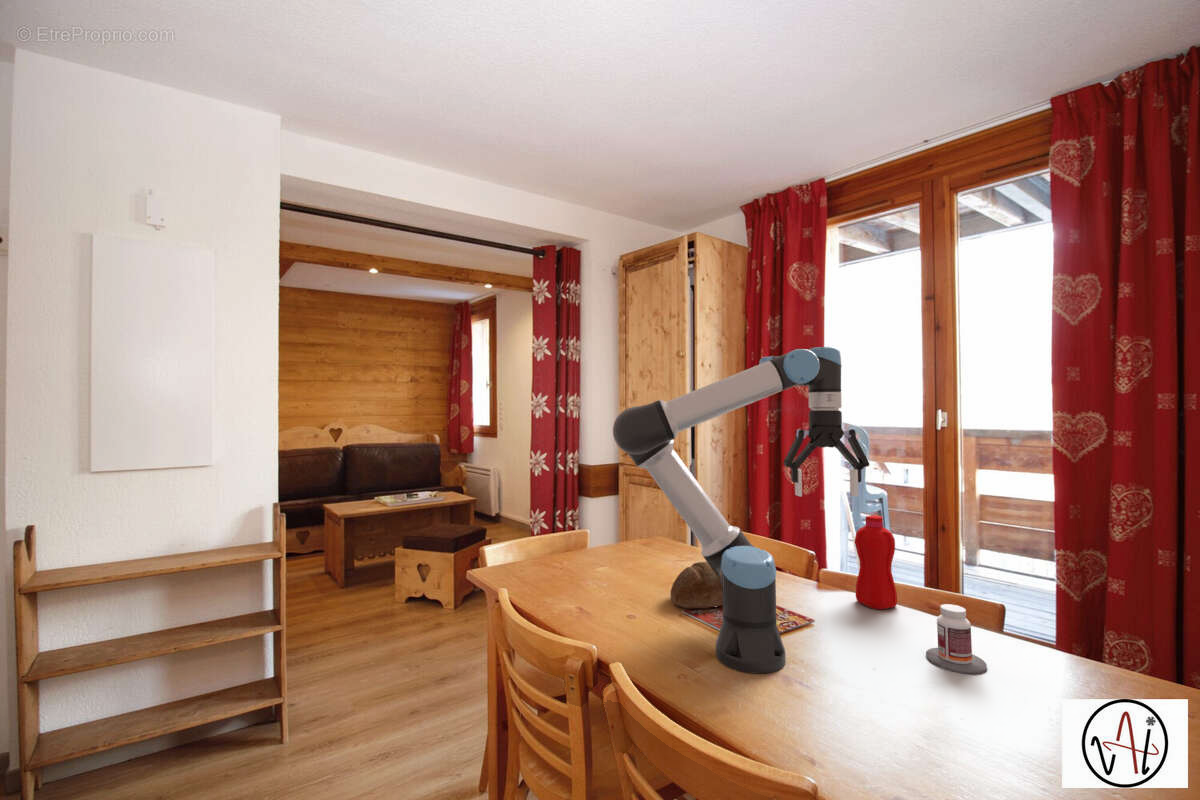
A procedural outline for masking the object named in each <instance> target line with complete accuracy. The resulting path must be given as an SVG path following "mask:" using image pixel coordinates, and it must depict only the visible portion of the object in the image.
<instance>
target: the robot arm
mask: <svg viewBox="0 0 1200 800" xmlns="http://www.w3.org/2000/svg"><path fill="white" fill-rule="evenodd" d="M793 387H808V408H809V409H810V411H808V430H807V429H806V430H805V429H801V428H796V431H795V438H794V440H793V442H792V443H791V445H790V448H789V450H788V452H787V454H786V456H785V458H784V460H783V462H782V465H783V466H785V467H787V468H789V469H790V481H791V482H792V483H794V495H795V496H797V497H803V480H802V479H803V474H802V472H803V471H802V469H801V468H800V467H801V466H802V465H803V464H804V462H805V461H807V458H808V457H809V456H810V455H811V453H813V452H814V450H815V449H817V448H835V449H837V450H838V452H839V453H840V454H841V455H842V456H843V457H844V458H845V460H846V461H847V462H848V463H849V465H851V467H853V468H849V495H851V496H853V497H859V483H861V482H862V470H863V469H864V468H868V467H870V462H869V460H868V457H867V456H866V454H865V452H864V450H863V448H862V447H861V445H860V442H859V441H858V438H857V434H856V433H857V432H856V430H855V429H853V428H847V429H845V430H844V429H843V428H842V427H843V426H842V425H843V416H842V415H843V414H842V413H843V412H842V411H841V410H840V409H841V408H842V406H843V405H842V356H841V350H840V349H839V348H837V347H835V346H820V347H819V346H817V347H811V348H809V349H805V348H799V349H798V348H797V349H794V350H790V351H789V352H787V353H785V354H782V355H779V356H778V355H777V356H775V355H771V356H763V357H761V358H760V359H759V364H757V365H755V366H752V367H750V368H747V369H745V370H742V371H740V372H737V373H735V374H733V375H730V376H727V377H725V378H722V379H720V380H717V381H716V382H712V383H709V384H707V385H705V386H702V387H700V388H698V389H695V390H692V391H690V392H687V393H685V394H682V395H680V396H677V397H675V398H673V399H671V400H667V401H664V400H662V399H658V400H656V401H653V402H651V403H646V404H644V405H639V406H636V405H635V406H631V407H627V408H626V409H624V410H622V411H621V412H620V413H619V414H618V415H617V416H616V418H615V420H614V421H613V426H612V435H613V440H614V442H615V444H616V445H617V447H618V448H620V449H621V451H623V452H624V453H627V454H628V456H629V458H630V459H631V460H632V461H633V462H634V465H635V466H636V467H637V468H641V469H645V470H646V471H647V472H648V473H649V475H650V476H651V477H652V479H653V480H654V481H655V483H656V484H657V485H658V488H660V489H661V491H662V492H663V494H664V495H665V496H666V499H668V500H669V502H670V503H671V505H672V506H673V508H674V509H675V510H676V512H677V513H678V514H679V515H680V517H681V518H682V520H683V521H684V522H685V523H686V525H687V526H688V528H689V529H690V531H691V532H692V533H693V535H694V536H695V537H696V538H697V540H698V541H699V542H700V544H701V546H702V548H701V555H702V557H703V558H704V560H705V562H706V561H707V562H708V564H709V565H710V567H711V568H712V569H713V571H714V572H715V573H716V575H717V576H718V578H719V581H720V583H721V586H722V600H723V606H722V622H721V626H720V628H719V632H718V635H717V638H716V642H715V657H716V659H717V660H718V661H719V663H721V664H723V665H724V666H725V667H728V668H730V669H733V670H736V671H739V672H744V673H750V674H767V673H773V672H776V671H779V670H781V669H782V668H783V667H784V666H785V665H786V663H787V662H786V661H787V660H786V659H787V658H786V649H785V646H784V643H783V641H782V637H781V635H780V631H779V628H778V626H777V590H776V589H777V587H776V585H777V584H776V582H777V581H776V578H777V577H776V576H777V568H776V562H775V559H774V557H773V555H772V554H771V553H770V552H768V551H767V550H765V549H761V548H760V547H755V546H754V545H753V544H752V543H751V542H750V541H749V539H748V538H747V536H746V535H745V534H744V532H743V531H742V530H741V528H739V526H735V525H730V523H729V522H728V521H727V520H726V518H725V517H724V515H723V514H722V512H721V511H720V510H719V509H718V508H717V506H716V505H715V503H714V502H713V501H712V499H710V497H709V495H708V494H707V492H705V490H704V488H703V487H702V486H701V485H700V483H699V482H698V481H697V479H696V477H694V475H693V473H692V472H691V471H690V470H689V469H688V467H687V466H686V464H685V463H684V462H683V460H682V459H681V457H680V456H679V455H678V454H677V452H676V451H675V450H674V443H675V440H674V439H677V437H678V434H679V433H680V432H682V431H685V430H687V429H690V428H693V427H695V426H697V425H699V424H700V425H701V424H702V423H705V422H708V421H710V420H713V419H714V418H715V419H716V418H718V417H720V416H722V415H725V414H727V413H730V412H732V411H735V410H737V409H740V408H743V407H745V406H747V405H749V404H750V405H751V404H753V403H755V402H758V401H760V400H762V399H765V398H768V397H770V396H773V395H775V394H777V393H779V392H782V391H786V390H789V389H791V388H793ZM807 436H808V438H809V441H808V443H807V444H806V446H805V447H804V448H803V449H802V450H801V452H799V450H800V448H801V447H802V444H803V442H804V439H806V438H807ZM843 436H844V438H846V439H847V442H848V443H849V445H850V448H851V449H852V451H853V454H854V455H853V454H852V453H851V451H850V450H849V449H848V447H846V446H845V443H844V442H842V440H841V439H842V438H843ZM798 452H799V454H798ZM797 454H798V455H797ZM796 456H797V457H796Z"/></svg>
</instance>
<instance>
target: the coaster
mask: <svg viewBox="0 0 1200 800" xmlns="http://www.w3.org/2000/svg"><path fill="white" fill-rule="evenodd" d="M925 658H926V659H927V660H928V662H930V663H931V664H932V665H934V666H936V667H938V668H941V669H943V670H947V671H950V672H954V673H958V674H965V675H979V674H984V673H985V672H986V671H987V669H988V666H987V663H986V661H985V660H983V659H982V658H981V657H979V656H977V655H975V654H973V653H972V662H971V663H969V664H955V663H951V662H948V661H946V660H944V659H942V658H941V657H940V656H939V654H938V647H931V648H929V649H927V650H926V652H925Z"/></svg>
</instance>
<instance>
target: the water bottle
mask: <svg viewBox="0 0 1200 800" xmlns="http://www.w3.org/2000/svg"><path fill="white" fill-rule="evenodd" d="M883 518H884V517H883V516H881V515H877V514H873V515H867V516H865V525H864V526H862V527H860V528H859V529H858V530H857V531H856V532H855V538H854V546H855V549H856V553H857V558H858V560H859V561H858V562H859V570H858V574H857V578H856V585H855V599H856V601H857V602H858V603H859V604H862V605H864V606H867V607H869V608H871V609H874V610H879V611H881V610H885V609H889V608H890V609H892V608H895V607H896V606H897V603H898V594H897V593H898V592H897V587H896V584H895V580H894V576H893V573H892V564H893V559H894V555H895V551H896V540H895V536H894V534H893V533H892V531H890V530H888V529H887V528H885V527H884V525H883V524H884V520H883Z"/></svg>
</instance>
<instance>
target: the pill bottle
mask: <svg viewBox="0 0 1200 800" xmlns="http://www.w3.org/2000/svg"><path fill="white" fill-rule="evenodd" d="M939 610H940V613H941V614H940V615H938V616H937V619H936V625H937V626H936V628H937V629H936V630H937V648H938V654H939V656H940V657H941V658H942V659H944V660H946V661H948V662H951V663H955V664H969V663H971V662H972V654H973V649H972V648H973V647H972V646H973V645H972V643H973V642H972V625H971V622H970V621H969V620H968V618H967V610H966V608H965V607H962V606H960V605H956V604H950V603H945V604H940V609H939Z"/></svg>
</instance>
